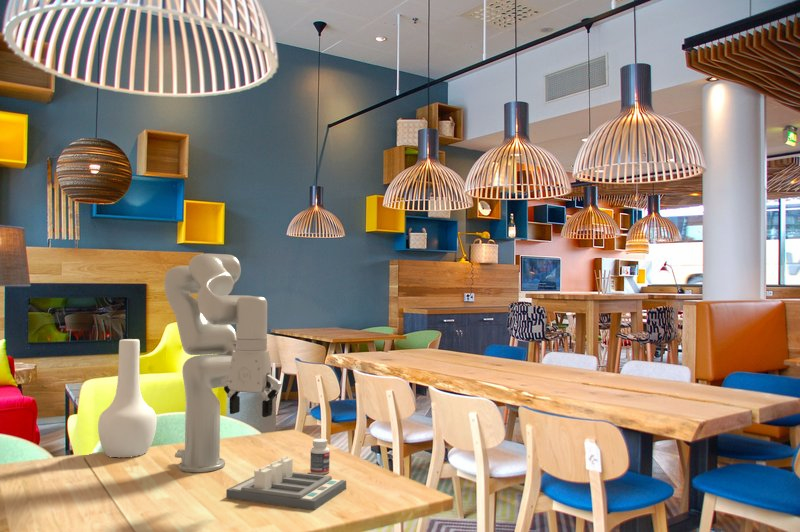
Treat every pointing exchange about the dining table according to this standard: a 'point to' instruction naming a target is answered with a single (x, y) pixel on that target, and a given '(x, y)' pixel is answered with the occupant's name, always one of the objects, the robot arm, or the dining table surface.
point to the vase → (127, 409)
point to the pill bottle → (320, 457)
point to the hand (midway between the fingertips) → (250, 414)
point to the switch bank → (291, 491)
